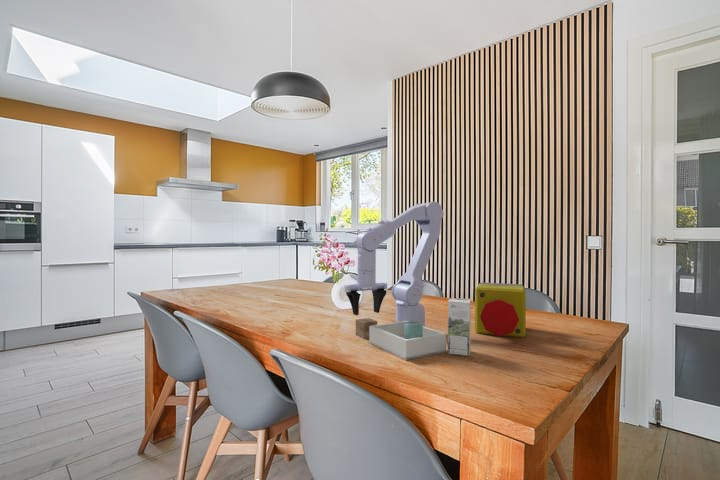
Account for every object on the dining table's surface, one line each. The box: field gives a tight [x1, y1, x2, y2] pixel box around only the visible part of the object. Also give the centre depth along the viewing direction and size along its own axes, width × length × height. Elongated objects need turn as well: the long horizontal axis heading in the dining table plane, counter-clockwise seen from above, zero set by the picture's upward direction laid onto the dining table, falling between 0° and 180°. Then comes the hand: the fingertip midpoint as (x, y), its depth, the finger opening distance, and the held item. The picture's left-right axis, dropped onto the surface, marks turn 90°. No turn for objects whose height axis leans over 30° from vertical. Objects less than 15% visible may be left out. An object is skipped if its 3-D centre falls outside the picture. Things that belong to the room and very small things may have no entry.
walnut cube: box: [355, 317, 378, 340], centre depth 116 cm, size 5×5×5 cm
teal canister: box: [404, 322, 423, 339], centre depth 100 cm, size 5×5×7 cm
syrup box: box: [447, 297, 472, 357], centre depth 99 cm, size 6×6×14 cm
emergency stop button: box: [474, 282, 527, 338], centre depth 119 cm, size 15×24×15 cm, turn 158°
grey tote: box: [368, 321, 447, 361], centre depth 104 cm, size 14×18×5 cm
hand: (366, 313), depth 116 cm, fingers open, 7 cm apart
